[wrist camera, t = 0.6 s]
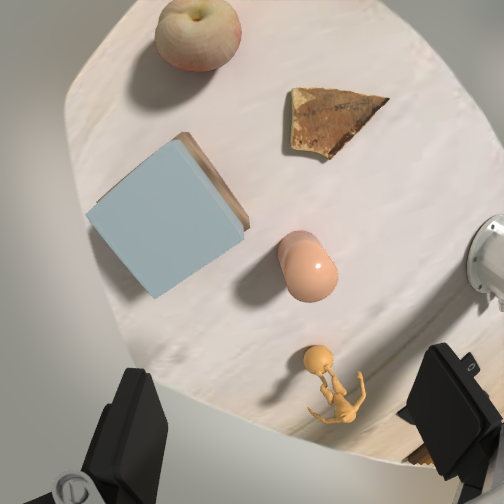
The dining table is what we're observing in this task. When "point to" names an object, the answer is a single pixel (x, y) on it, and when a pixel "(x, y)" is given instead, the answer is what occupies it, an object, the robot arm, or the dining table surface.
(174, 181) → the top block
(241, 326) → the dining table surface
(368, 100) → the shard
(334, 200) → the dining table surface
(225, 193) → the bottom block
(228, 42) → the fruit
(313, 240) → the terracotta cylinder
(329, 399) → the figurine
